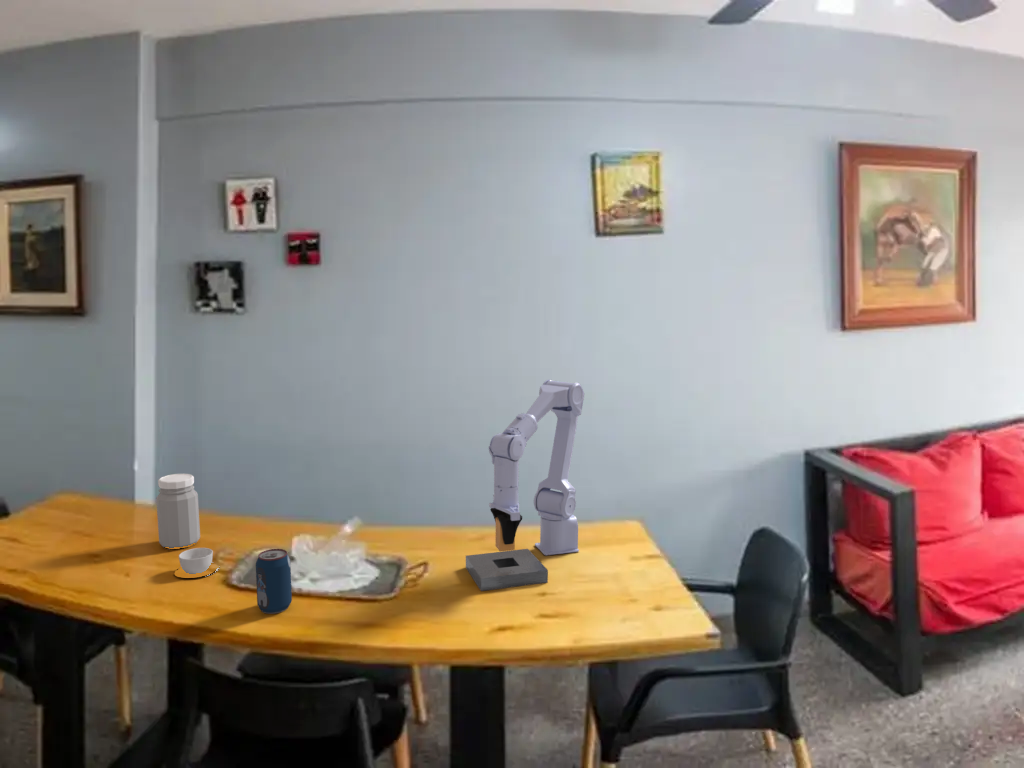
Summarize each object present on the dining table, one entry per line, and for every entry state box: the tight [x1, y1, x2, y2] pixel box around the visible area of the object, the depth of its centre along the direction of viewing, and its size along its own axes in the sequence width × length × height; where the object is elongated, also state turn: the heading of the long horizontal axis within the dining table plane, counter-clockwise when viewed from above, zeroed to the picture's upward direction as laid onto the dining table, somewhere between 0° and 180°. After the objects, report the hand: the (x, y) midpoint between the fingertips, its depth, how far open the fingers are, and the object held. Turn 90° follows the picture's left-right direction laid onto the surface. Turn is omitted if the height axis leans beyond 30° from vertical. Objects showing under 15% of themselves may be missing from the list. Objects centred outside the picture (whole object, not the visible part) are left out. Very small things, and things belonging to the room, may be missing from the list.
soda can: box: [255, 548, 293, 615], centre depth 149 cm, size 7×7×12 cm
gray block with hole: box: [465, 548, 549, 592], centre depth 167 cm, size 16×14×3 cm
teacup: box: [178, 547, 220, 577], centre depth 168 cm, size 10×10×5 cm
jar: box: [155, 473, 201, 548], centre depth 184 cm, size 10×10×18 cm
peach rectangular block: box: [495, 518, 516, 552], centre depth 166 cm, size 4×4×7 cm
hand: (505, 540), depth 166 cm, fingers closed on peach rectangular block, 4 cm apart
